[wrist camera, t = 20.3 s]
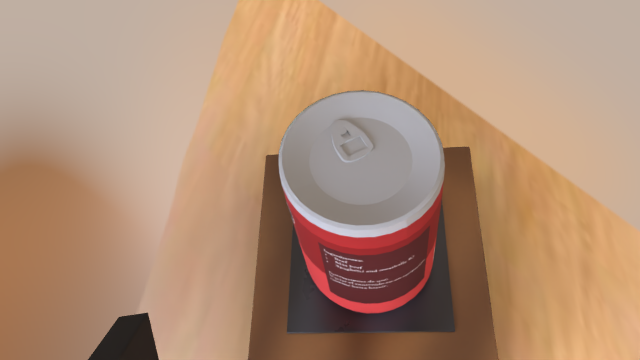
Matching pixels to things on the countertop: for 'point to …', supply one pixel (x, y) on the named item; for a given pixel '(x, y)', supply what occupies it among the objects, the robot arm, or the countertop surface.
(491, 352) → the wooden picture frame
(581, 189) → the countertop surface
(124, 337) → the robot arm
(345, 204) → the canned food
